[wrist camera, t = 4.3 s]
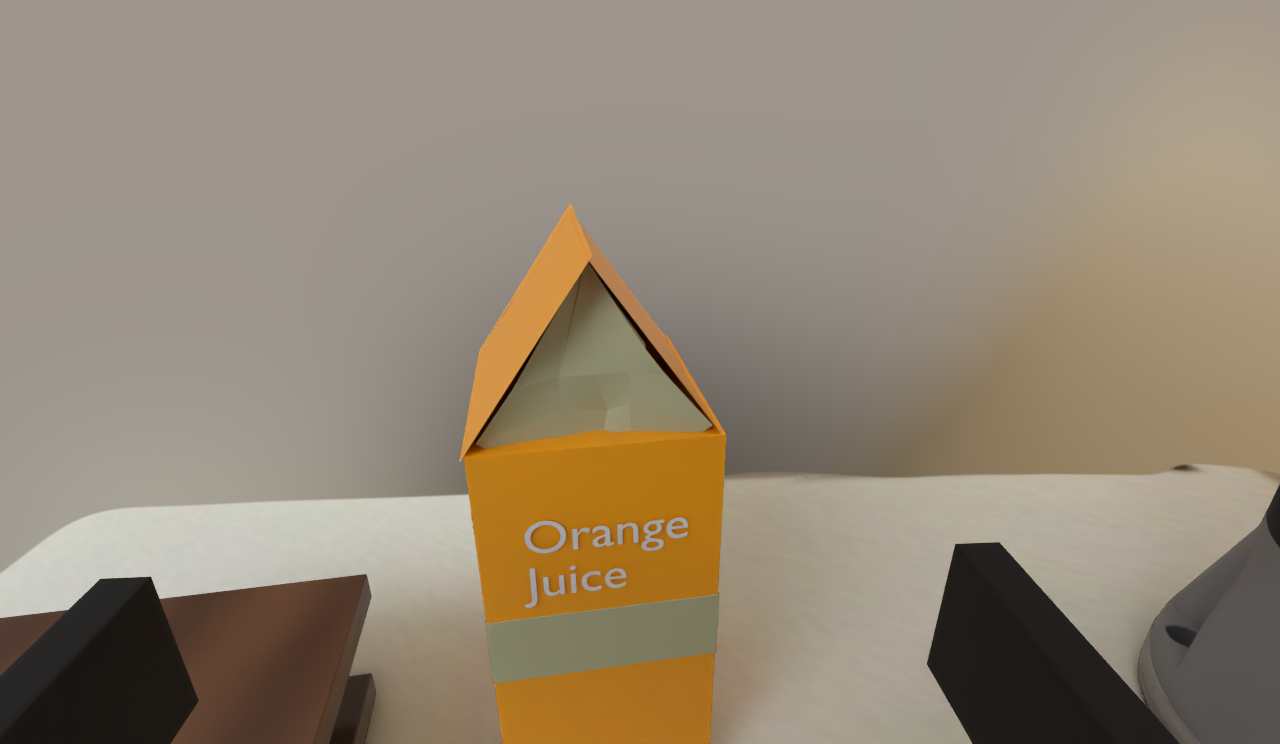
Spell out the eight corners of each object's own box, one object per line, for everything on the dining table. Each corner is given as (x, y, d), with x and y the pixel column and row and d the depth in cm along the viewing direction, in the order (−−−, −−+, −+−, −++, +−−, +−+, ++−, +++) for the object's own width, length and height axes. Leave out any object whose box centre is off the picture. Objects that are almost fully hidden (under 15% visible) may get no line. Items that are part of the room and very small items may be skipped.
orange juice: (666, 602, 32) (671, 199, 24) (712, 769, 24) (742, 249, 16) (509, 622, 31) (461, 206, 23) (504, 803, 23) (427, 264, 15)
